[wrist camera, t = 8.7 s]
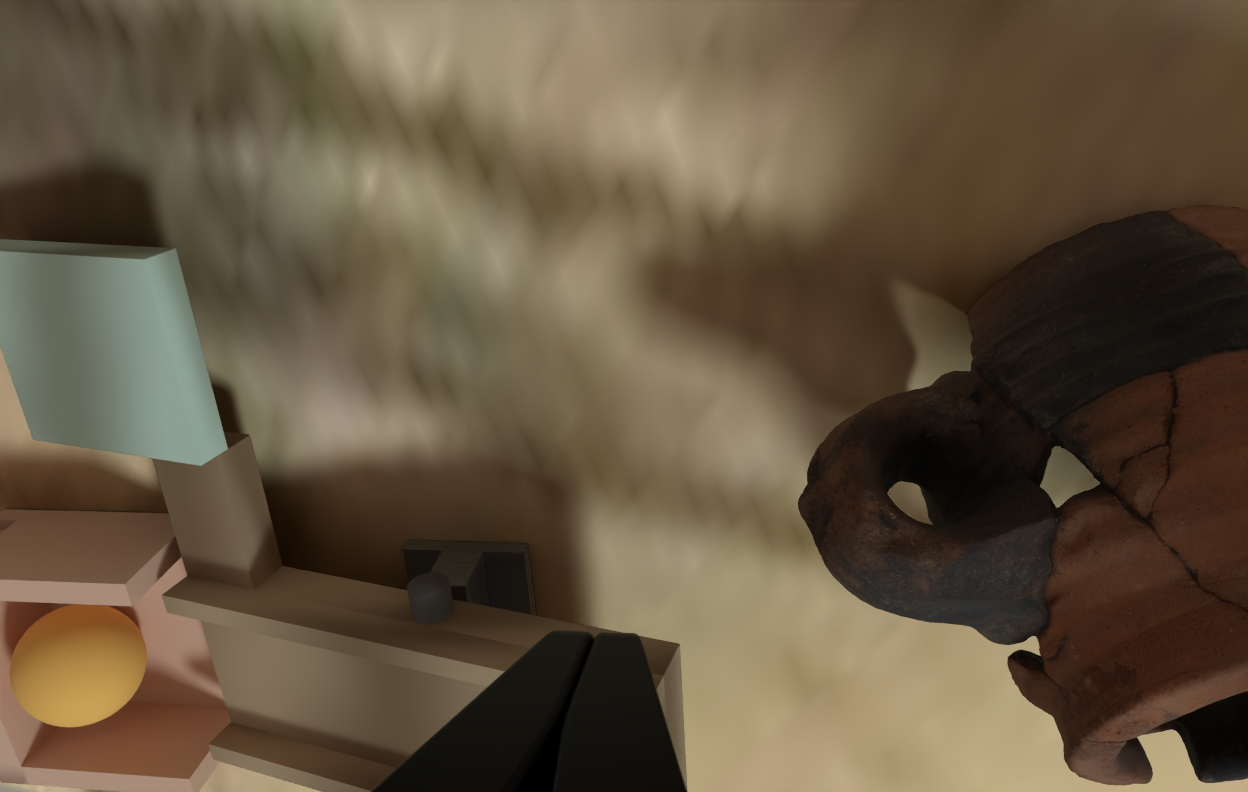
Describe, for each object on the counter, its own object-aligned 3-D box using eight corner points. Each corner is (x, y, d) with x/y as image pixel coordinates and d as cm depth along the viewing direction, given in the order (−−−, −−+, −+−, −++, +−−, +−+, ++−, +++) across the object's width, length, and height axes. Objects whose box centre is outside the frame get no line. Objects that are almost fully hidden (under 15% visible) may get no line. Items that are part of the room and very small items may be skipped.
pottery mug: (1444, 159, 17) (1847, 568, 12) (1182, 458, 25) (1367, 791, 20) (791, 178, 16) (938, 640, 11) (721, 487, 24) (791, 849, 19)
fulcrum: (527, 543, 23) (508, 587, 22) (548, 712, 25) (532, 764, 24) (408, 540, 24) (380, 583, 22) (439, 705, 26) (415, 756, 24)
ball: (14, 642, 22) (30, 575, 24) (-11, 752, 23) (8, 675, 25) (157, 651, 23) (159, 586, 26) (131, 754, 24) (135, 681, 27)
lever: (660, 260, 16) (611, 302, 14) (690, 847, 22) (657, 931, 20) (28, 231, 22) (-66, 258, 20) (182, 707, 27) (119, 764, 25)
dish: (197, 514, 24) (124, 584, 22) (254, 712, 27) (195, 797, 24) (4, 509, 25) (-90, 576, 22) (77, 701, 28) (0, 782, 25)
